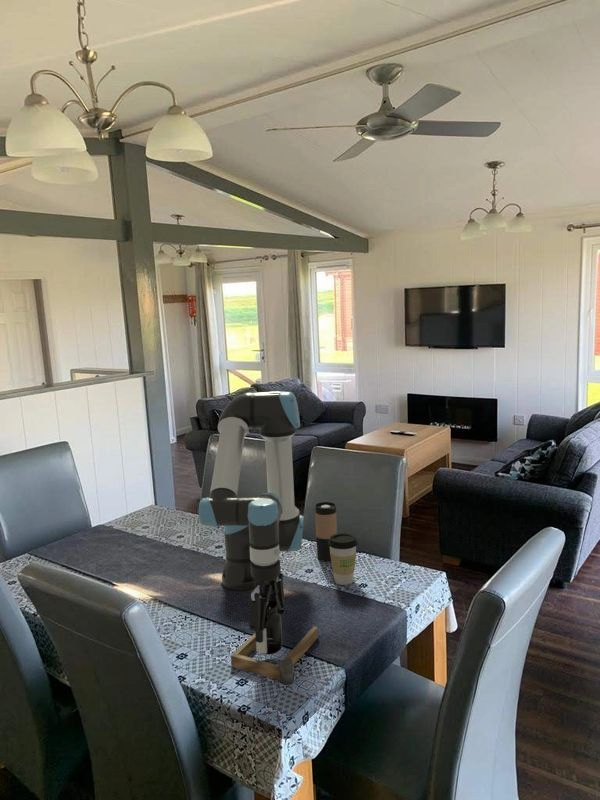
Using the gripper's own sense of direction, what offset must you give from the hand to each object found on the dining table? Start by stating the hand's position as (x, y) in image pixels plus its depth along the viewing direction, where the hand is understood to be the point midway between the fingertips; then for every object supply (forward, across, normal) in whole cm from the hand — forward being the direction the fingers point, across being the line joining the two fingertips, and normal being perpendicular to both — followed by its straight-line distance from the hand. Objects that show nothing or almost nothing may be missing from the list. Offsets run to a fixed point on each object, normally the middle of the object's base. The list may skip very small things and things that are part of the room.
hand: (269, 644), depth 152 cm
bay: (+4, +3, -2) cm, 5 cm away
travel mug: (+4, +64, +13) cm, 65 cm away
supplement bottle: (+1, 0, 0) cm, 1 cm away
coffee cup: (+4, +49, 0) cm, 49 cm away
